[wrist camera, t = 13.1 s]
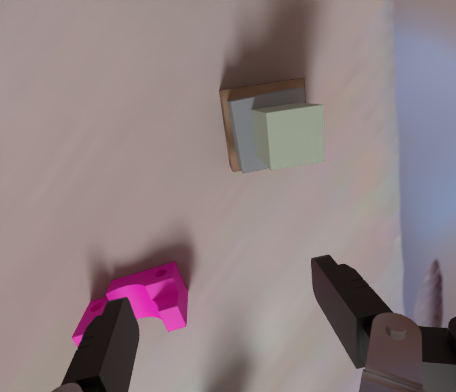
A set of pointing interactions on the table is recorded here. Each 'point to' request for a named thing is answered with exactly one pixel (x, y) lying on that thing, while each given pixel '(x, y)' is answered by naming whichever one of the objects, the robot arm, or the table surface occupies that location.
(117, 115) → the table surface
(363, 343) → the robot arm
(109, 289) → the toy block
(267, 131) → the sage block
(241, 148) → the block
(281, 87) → the block
